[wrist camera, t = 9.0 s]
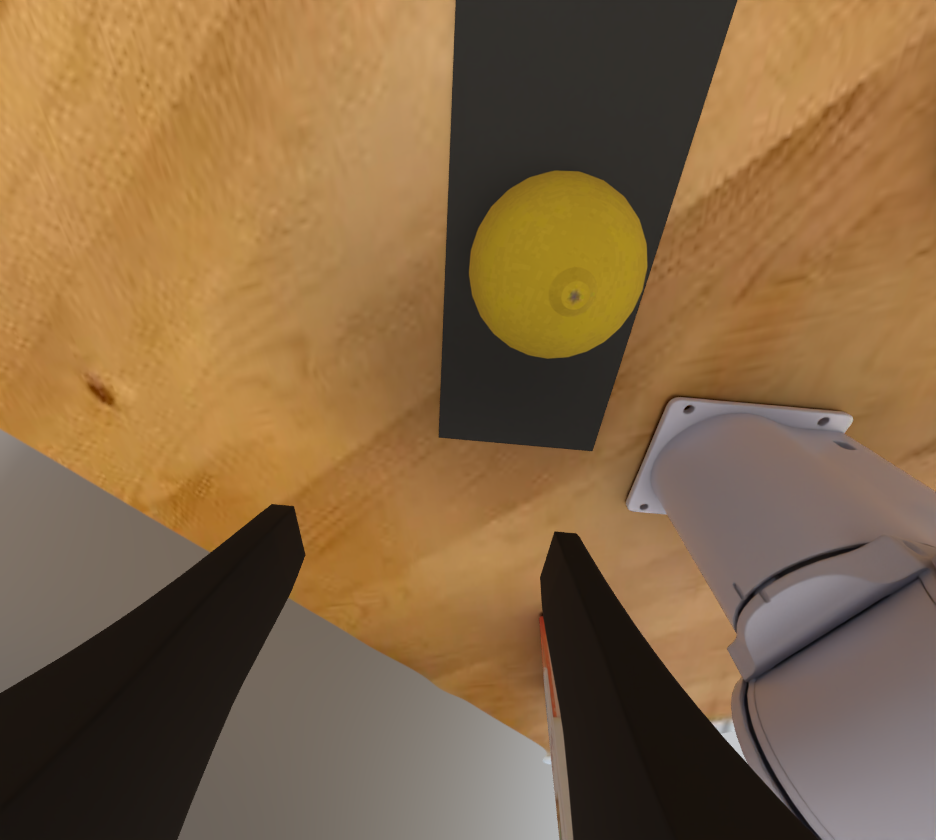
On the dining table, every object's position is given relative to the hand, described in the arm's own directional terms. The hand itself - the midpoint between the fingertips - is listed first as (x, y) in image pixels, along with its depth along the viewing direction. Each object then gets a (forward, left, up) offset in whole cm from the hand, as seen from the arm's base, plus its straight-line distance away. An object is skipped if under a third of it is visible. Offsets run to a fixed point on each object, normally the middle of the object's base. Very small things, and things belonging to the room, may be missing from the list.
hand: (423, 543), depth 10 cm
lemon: (-3, -6, -10) cm, 13 cm away
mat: (-4, -6, -10) cm, 13 cm away
